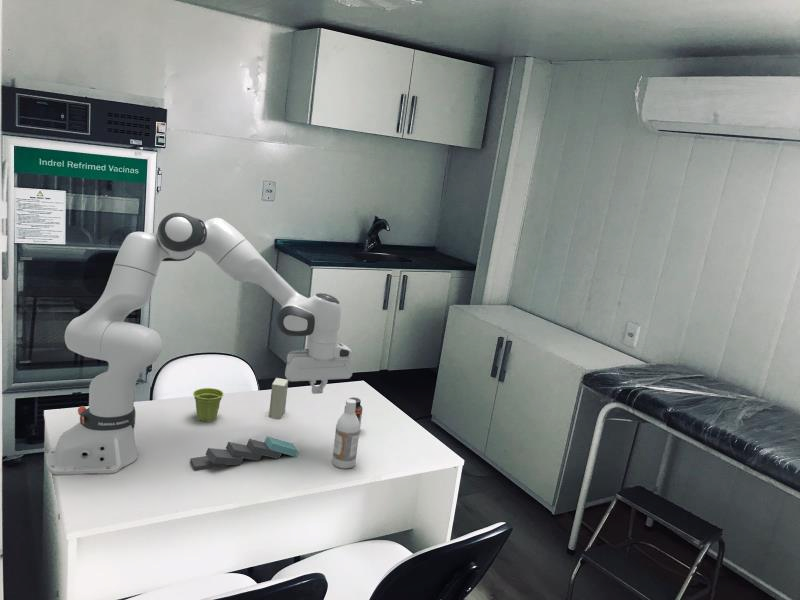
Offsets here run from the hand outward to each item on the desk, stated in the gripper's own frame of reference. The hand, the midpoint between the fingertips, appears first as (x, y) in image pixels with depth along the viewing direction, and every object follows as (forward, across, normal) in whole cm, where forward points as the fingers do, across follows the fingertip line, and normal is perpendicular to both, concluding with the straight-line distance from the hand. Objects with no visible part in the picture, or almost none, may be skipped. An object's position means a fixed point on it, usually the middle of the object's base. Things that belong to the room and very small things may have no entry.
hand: (317, 392), depth 188 cm
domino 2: (+18, -23, -1) cm, 29 cm away
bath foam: (+19, +7, -10) cm, 23 cm away
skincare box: (+19, -2, +27) cm, 33 cm away
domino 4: (+18, -10, 0) cm, 21 cm away
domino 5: (+18, -5, 0) cm, 19 cm away
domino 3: (+18, -17, 0) cm, 24 cm away
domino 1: (+19, -26, -1) cm, 32 cm away
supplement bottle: (+19, +18, +11) cm, 28 cm away
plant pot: (+19, -25, +29) cm, 43 cm away
